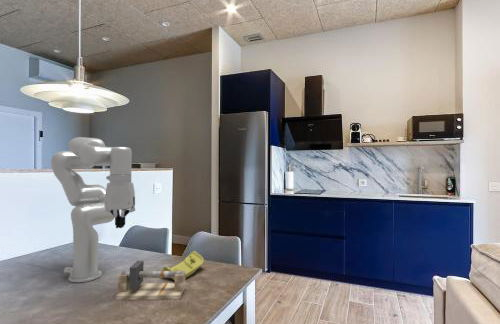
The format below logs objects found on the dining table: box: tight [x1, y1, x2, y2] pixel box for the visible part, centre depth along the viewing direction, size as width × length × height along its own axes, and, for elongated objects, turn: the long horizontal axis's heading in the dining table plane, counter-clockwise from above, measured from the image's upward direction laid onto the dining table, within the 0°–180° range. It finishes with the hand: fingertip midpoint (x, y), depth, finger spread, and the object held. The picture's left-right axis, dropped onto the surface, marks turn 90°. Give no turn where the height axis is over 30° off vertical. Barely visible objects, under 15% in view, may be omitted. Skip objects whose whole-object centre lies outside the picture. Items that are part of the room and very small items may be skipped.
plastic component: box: [161, 250, 205, 282], centre depth 131 cm, size 20×7×10 cm
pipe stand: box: [115, 270, 186, 301], centre depth 111 cm, size 24×11×8 cm, turn 92°
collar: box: [129, 260, 145, 290], centre depth 110 cm, size 2×8×8 cm, turn 2°
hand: (120, 227), depth 110 cm, fingers closed
